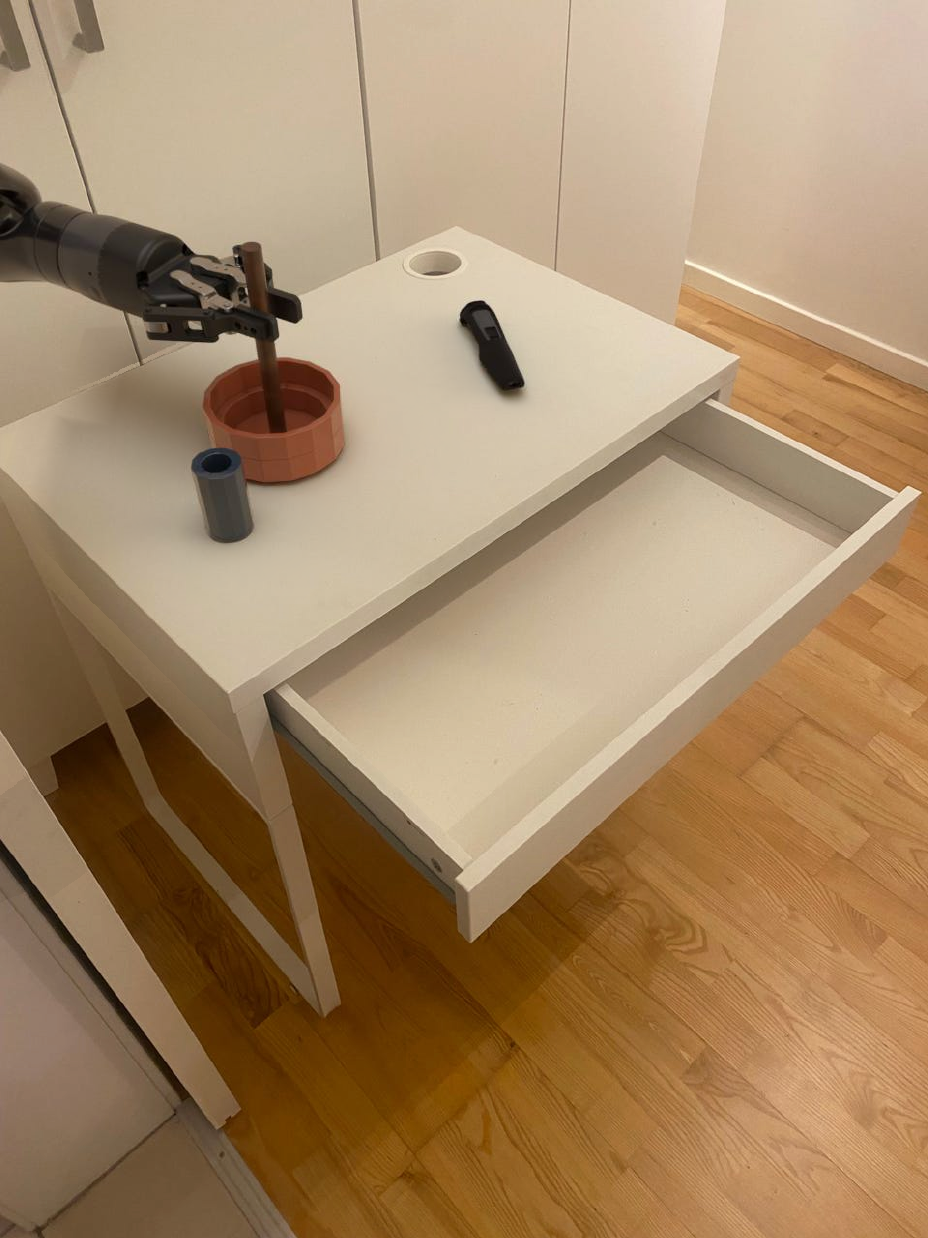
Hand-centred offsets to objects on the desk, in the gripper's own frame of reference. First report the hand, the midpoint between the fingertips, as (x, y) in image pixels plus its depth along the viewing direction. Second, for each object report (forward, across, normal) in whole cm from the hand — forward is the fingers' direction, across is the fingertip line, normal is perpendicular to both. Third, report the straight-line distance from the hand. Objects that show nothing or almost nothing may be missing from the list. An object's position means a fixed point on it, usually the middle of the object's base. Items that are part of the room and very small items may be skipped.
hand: (287, 320), depth 79 cm
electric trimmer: (+8, +23, +14) cm, 28 cm away
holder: (0, -11, +14) cm, 18 cm away
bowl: (-3, 0, +14) cm, 14 cm away
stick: (-3, 0, +13) cm, 14 cm away
